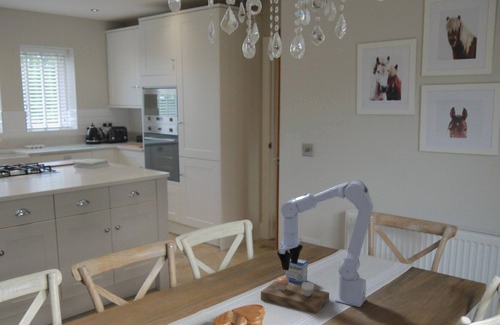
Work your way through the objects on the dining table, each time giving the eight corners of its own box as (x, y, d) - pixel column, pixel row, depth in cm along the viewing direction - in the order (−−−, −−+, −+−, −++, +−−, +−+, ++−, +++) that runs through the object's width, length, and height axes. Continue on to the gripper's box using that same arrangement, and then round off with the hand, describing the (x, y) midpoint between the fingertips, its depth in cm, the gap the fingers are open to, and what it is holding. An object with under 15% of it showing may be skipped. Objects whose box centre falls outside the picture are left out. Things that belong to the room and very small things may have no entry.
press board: (329, 300, 160) (329, 292, 160) (317, 313, 150) (317, 305, 150) (275, 287, 171) (275, 280, 171) (260, 299, 161) (260, 291, 160)
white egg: (315, 294, 158) (315, 283, 158) (311, 298, 155) (311, 287, 154) (304, 291, 161) (304, 281, 160) (299, 296, 157) (299, 285, 156)
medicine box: (285, 280, 178) (285, 260, 177) (289, 276, 182) (289, 256, 181) (303, 284, 175) (303, 263, 174) (307, 280, 179) (307, 260, 178)
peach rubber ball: (290, 288, 163) (290, 278, 163) (285, 292, 160) (285, 282, 159) (280, 286, 166) (280, 275, 165) (274, 290, 162) (274, 279, 161)
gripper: (289, 226, 174) (288, 259, 176) (272, 235, 162) (272, 270, 163) (305, 228, 170) (305, 262, 172) (289, 238, 158) (289, 274, 160)
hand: (290, 266), depth 167 cm, fingers open, 7 cm apart
